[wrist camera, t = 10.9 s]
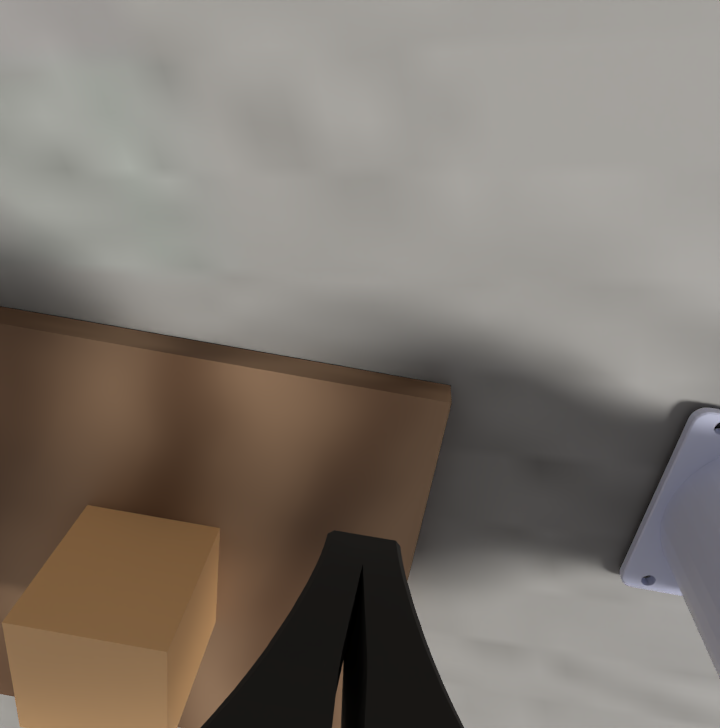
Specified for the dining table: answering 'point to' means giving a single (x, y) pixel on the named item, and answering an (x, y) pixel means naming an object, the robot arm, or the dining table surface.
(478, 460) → the dining table surface
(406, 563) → the base board
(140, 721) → the tan wooden cube
